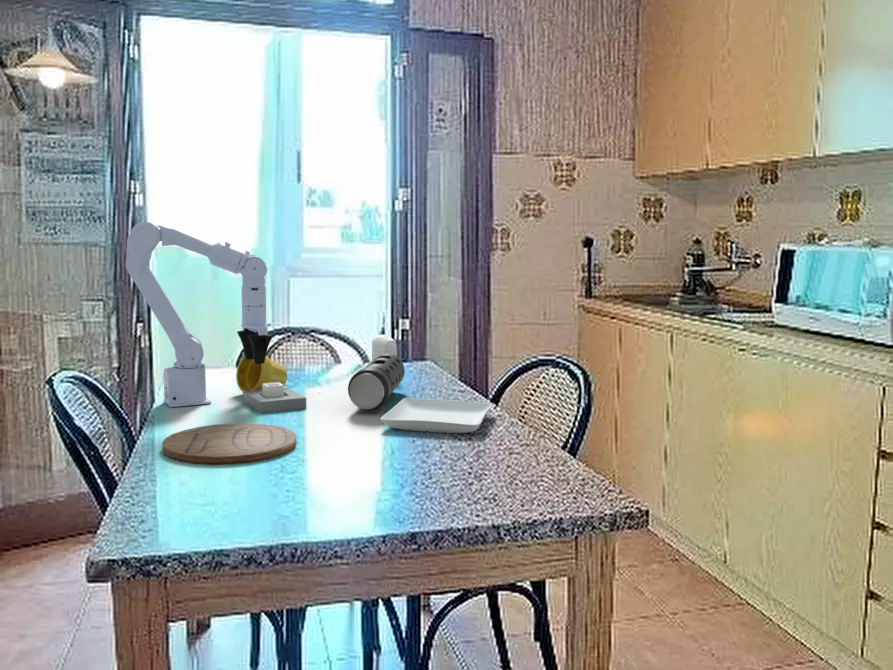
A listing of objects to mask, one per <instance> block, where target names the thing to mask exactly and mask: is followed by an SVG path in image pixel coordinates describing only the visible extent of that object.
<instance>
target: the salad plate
mask: <svg viewBox="0 0 893 670" xmlns="http://www.w3.org/2000/svg"><path fill="white" fill-rule="evenodd" d="M493 406H494V405H493V403H490V402H489V403H487V402H480V401H479V402H477V401H466V400H453V399H439V398H438V399H436V398H413V397H412V398H411V397H404V398H402V399H401V400H400V401H399V402H398V403H396V405H394V406H393V407H392V408H390V410H388V411H387V412H386V413H385V414H383V415H382V416H381V417H380V422H382V424H384V425H385V426H387V427H389V428H391V429H397V430H401V431H409V432H410V431H412V432H413V431H414V432H426V431H428V433H429V432H430V433H444V434H446V433H447V434H467V433H472V432H474V431H477V430H478V429H479V428H480V426H481V424H483V423H482V422H483V421H484V419H485V416H486V415H487V413H489V412H490V411H491V409H492V407H493Z"/></svg>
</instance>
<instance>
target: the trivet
mask: <svg viewBox="0 0 893 670" xmlns="http://www.w3.org/2000/svg"><path fill="white" fill-rule="evenodd" d="M161 443H162V444H161V445H162V453H163V456H165V457H166V458H168V459H169V460H172V461H176V462H179V463H184V464H185V463H186V464H190V465H191V464H192V465H201V466H202V465H203V466H204V465H205V466H230V465H232V466H233V465H241V464H242V465H243V464H251V463H257V462H263V461H269V460H272V459H275V458H278V457H282V456H284V455H287V454H289V453H291V452H292V451H293V450H294V449H295V448H296V447H297V434H296V433H295V432H294V431H293V430H291V429H288V428H286V427H284V426H283V427H282V426H278V425H272V424H265V423H248V422H247V423H246V422H245V423H241V422H240V423H239V422H237V423H235V422H234V423H221V424H211V425H204V426H197V427H192V428H188V429H184V430H181V431H177V432H175V433H172V434H171V435H169V436H167V437H165V439H164V440H163V441H162V442H161Z"/></svg>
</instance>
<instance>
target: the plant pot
mask: <svg viewBox="0 0 893 670" xmlns="http://www.w3.org/2000/svg"><path fill="white" fill-rule="evenodd" d="M235 374H236V375H235V377H236V384H237V387H238V388H239V390H240V391H241V392H242V393H243V391H249V390H261V389H262V384H264V383H274V382H279V383H281V384H283V385H284V386H285V385H286V383H287V380H288V372H287V369H286V367H285V365H282V364H280V363H278V362H276V361H274V360H272V359H270V358H269V357H268V356H267V355H266V358H265V362H264V364H255V362H254V359H246V357H245V355H243V356H242V358H241V359H240V361H239V362H238V365H237V369H236V373H235Z"/></svg>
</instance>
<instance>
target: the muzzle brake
mask: <svg viewBox="0 0 893 670" xmlns="http://www.w3.org/2000/svg"><path fill="white" fill-rule="evenodd" d="M381 364H383V365H381ZM405 374H406V373H405V365H404V363H403V361H402V360H401V358H399V357H398V356H397V357H396V356H395V355H392V354H382V355H380V356H378V357H376V358H375V359H374V360H373V361H372V360H371V361H370V362H369V363H368V364H367V365H366V366H365V367H363V368H362V369H359V370H358V371H357V372H356V373H354V374H353V376H352V377H350V380H349V381H348V384H347V385H348V386H347V392H348V394H347V395H348V396H349V399H350V401H351V402H352V403H353V404H354V406H356V407H357V408H358V409H360V410H365V411H374V410H377V409H379V408H381V407H382V406H384V404H385V403H386V402H387V401H388V400H389V398H390V396H391V394H392V393H393V392H394V390H395V389H396V388H397V387H398V386H399V384H401V382H402V381H403V379H404V377H405Z"/></svg>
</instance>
